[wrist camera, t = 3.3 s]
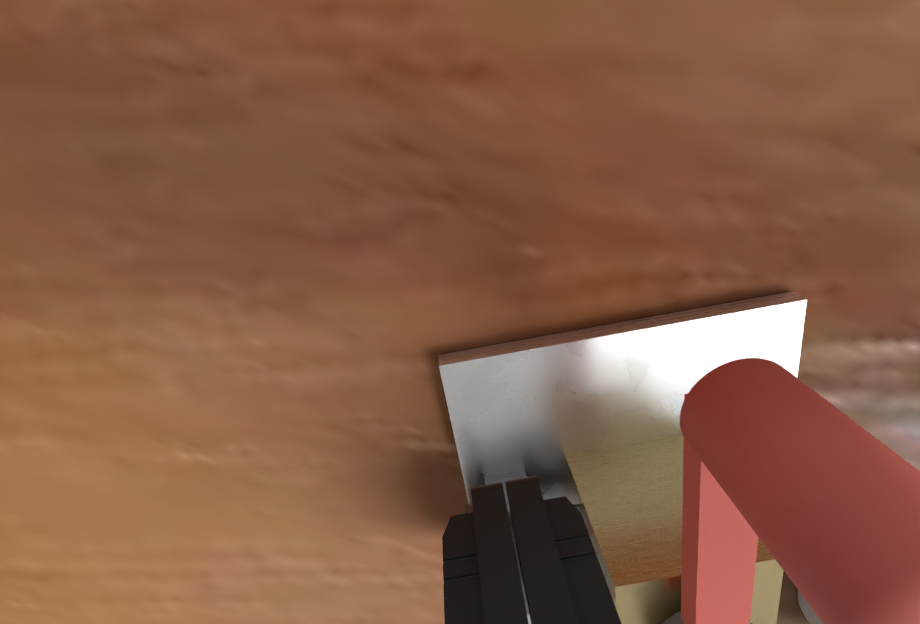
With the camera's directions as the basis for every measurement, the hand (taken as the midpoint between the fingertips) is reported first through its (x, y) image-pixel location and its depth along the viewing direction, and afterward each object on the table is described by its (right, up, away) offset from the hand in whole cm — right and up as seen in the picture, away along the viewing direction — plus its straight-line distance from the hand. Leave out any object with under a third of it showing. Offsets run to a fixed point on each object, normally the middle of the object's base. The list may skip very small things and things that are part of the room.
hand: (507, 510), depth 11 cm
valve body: (+7, -4, +15) cm, 17 cm away
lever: (+7, -3, +5) cm, 9 cm away
